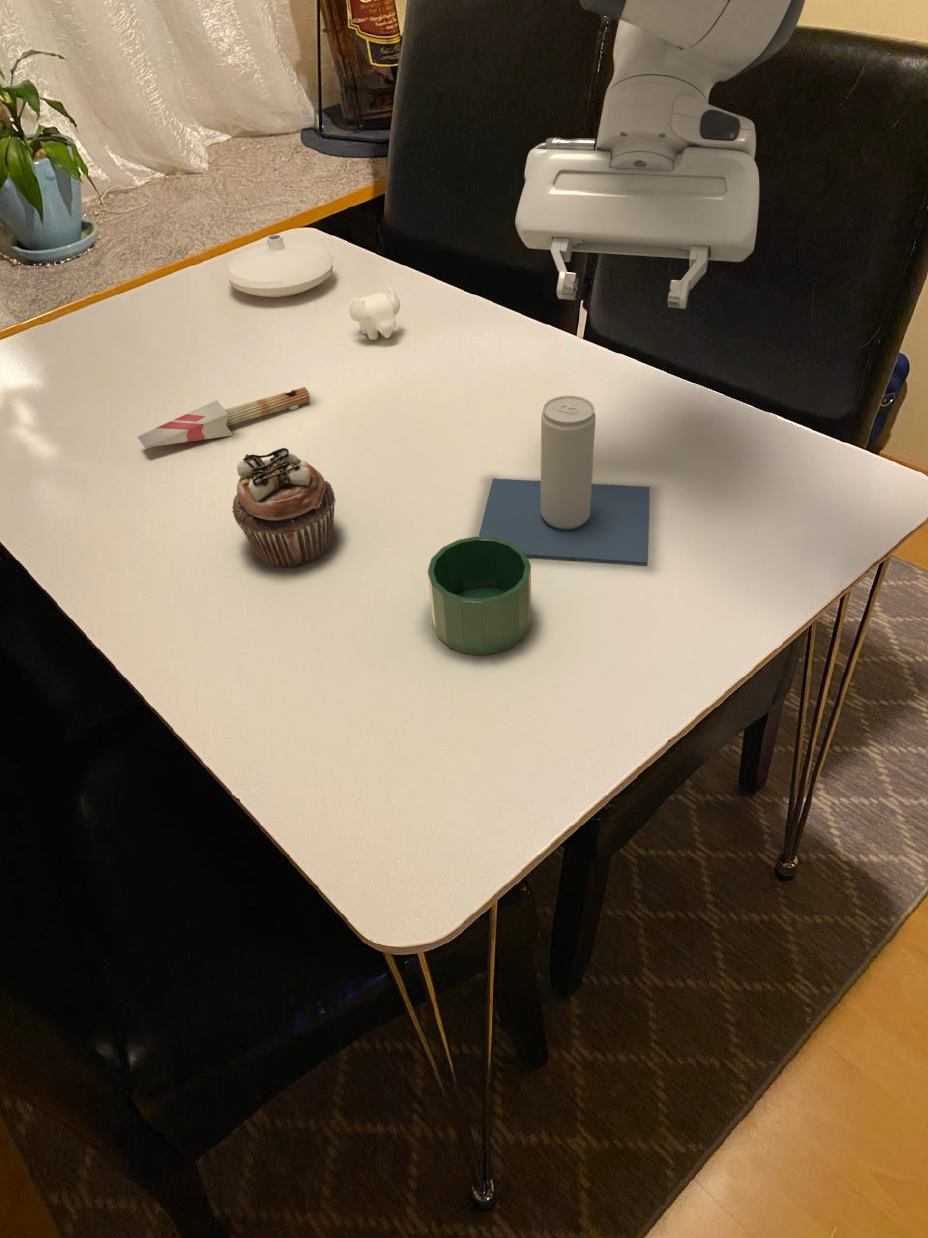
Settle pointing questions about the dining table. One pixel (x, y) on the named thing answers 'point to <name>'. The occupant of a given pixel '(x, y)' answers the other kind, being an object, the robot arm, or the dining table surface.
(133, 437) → the dining table surface
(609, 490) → the mat
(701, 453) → the dining table surface
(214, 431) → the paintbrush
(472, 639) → the green round pot
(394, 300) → the elephant figurine
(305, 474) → the cupcake
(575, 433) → the beverage can
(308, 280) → the vase
